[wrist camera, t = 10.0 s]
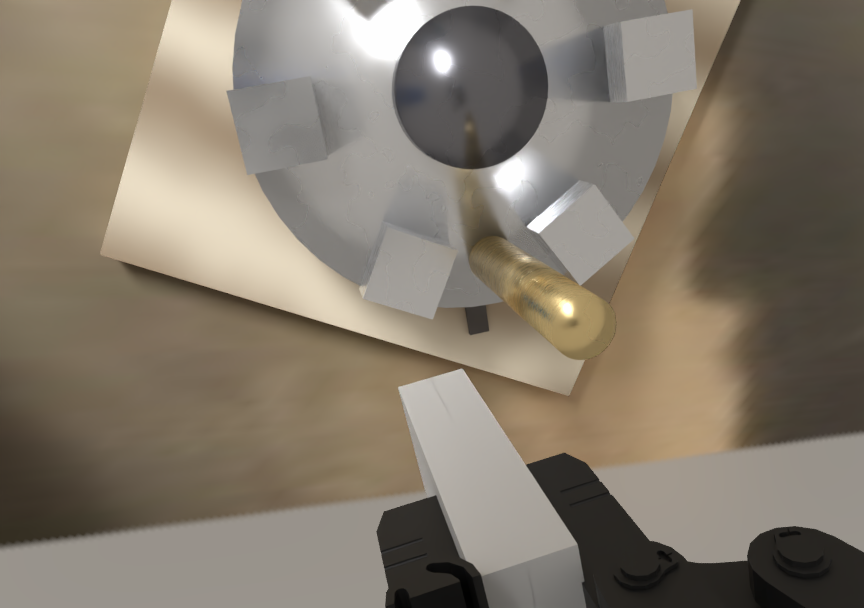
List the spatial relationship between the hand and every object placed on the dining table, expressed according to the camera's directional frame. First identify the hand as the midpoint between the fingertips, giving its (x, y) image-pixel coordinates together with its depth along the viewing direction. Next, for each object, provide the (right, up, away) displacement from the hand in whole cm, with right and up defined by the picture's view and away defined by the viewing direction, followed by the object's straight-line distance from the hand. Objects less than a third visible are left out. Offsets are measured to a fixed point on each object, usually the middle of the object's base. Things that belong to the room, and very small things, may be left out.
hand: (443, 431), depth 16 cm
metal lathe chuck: (0, +12, +16) cm, 20 cm away
